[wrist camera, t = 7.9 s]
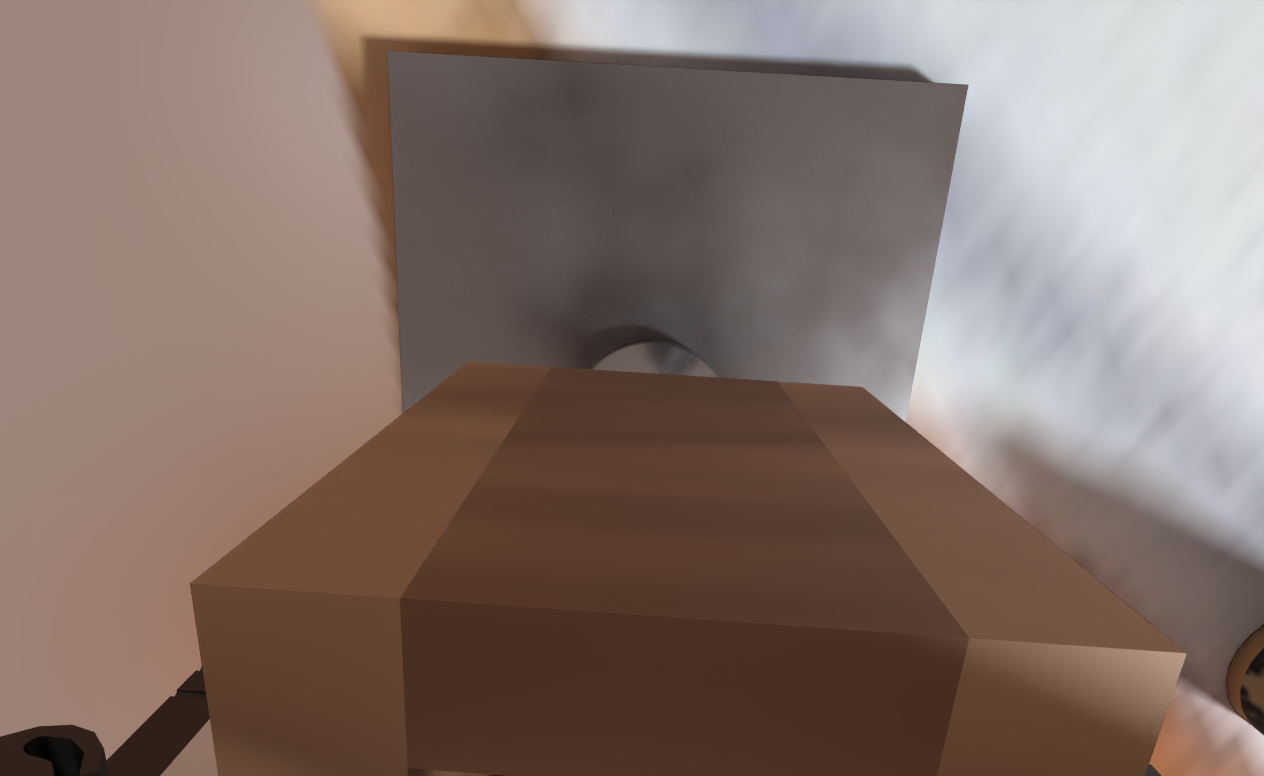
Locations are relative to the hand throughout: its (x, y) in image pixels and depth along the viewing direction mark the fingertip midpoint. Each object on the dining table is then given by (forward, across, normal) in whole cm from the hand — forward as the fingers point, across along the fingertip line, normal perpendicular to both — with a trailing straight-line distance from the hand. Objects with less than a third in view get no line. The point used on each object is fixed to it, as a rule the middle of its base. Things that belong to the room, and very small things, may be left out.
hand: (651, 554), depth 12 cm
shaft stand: (+10, 0, 0) cm, 10 cm away
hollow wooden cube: (0, 0, 0) cm, 0 cm away
